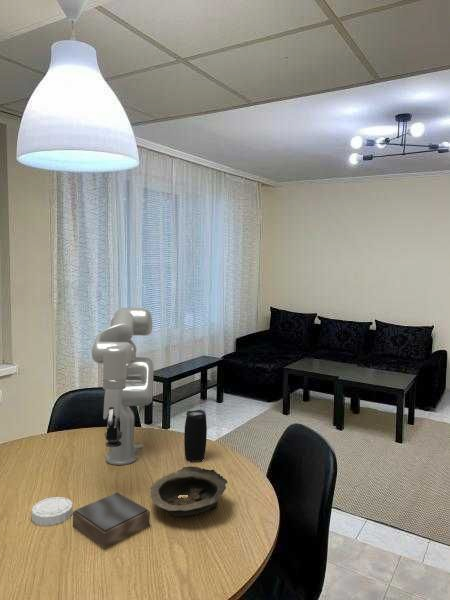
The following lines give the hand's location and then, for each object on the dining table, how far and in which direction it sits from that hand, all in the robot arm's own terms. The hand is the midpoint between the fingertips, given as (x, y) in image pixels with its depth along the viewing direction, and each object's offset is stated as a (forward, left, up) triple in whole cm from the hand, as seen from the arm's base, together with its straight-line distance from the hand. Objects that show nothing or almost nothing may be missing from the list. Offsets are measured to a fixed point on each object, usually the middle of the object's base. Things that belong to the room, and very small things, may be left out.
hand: (113, 435), depth 151 cm
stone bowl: (-12, +24, -21) cm, 34 cm away
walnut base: (+11, +15, -21) cm, 28 cm away
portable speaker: (-41, -1, -21) cm, 46 cm away
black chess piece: (0, 0, -3) cm, 3 cm away
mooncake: (+20, -3, -21) cm, 30 cm away
